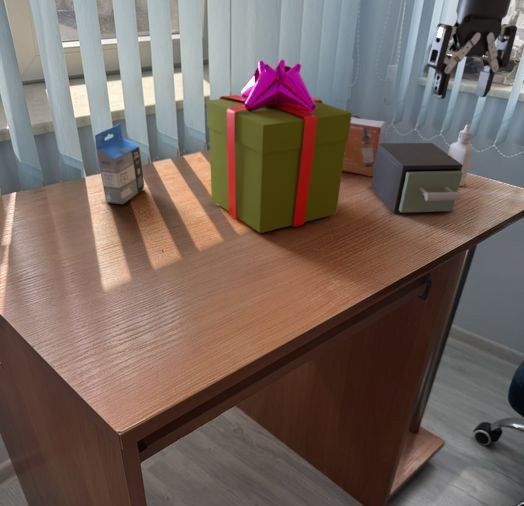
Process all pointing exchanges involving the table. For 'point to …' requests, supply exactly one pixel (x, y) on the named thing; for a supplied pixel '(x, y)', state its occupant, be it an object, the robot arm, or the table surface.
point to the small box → (362, 145)
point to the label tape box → (119, 166)
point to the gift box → (276, 151)
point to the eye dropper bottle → (462, 151)
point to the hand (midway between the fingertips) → (460, 97)
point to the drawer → (430, 190)
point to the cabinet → (405, 168)
